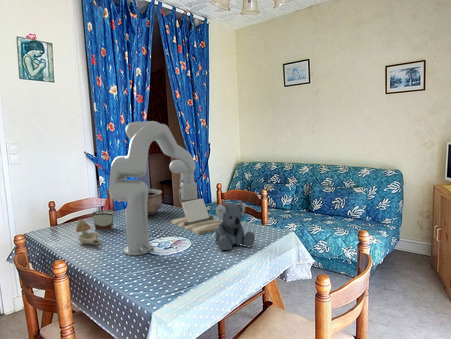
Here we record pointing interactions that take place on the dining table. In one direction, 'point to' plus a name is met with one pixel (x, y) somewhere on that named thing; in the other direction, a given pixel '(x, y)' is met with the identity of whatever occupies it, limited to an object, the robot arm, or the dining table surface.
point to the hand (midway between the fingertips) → (188, 210)
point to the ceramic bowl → (153, 201)
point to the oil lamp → (86, 234)
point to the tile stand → (197, 225)
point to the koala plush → (232, 227)
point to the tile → (195, 211)
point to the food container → (103, 219)
